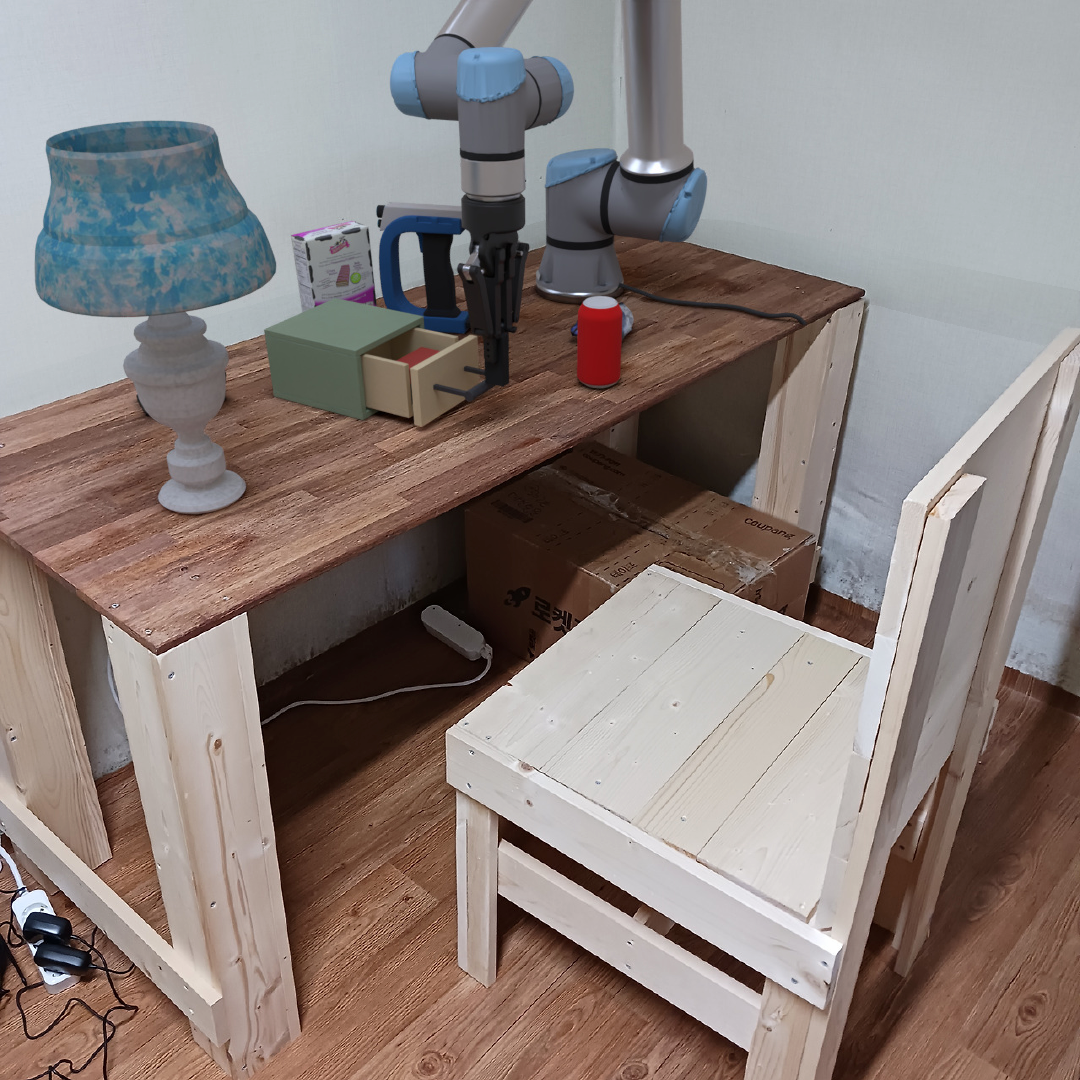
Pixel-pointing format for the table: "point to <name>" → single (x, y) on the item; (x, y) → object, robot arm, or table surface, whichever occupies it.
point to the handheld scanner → (435, 244)
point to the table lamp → (156, 273)
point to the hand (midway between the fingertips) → (497, 382)
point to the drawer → (422, 375)
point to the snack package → (626, 322)
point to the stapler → (417, 359)
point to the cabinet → (330, 353)
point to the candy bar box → (334, 265)
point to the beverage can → (599, 342)
